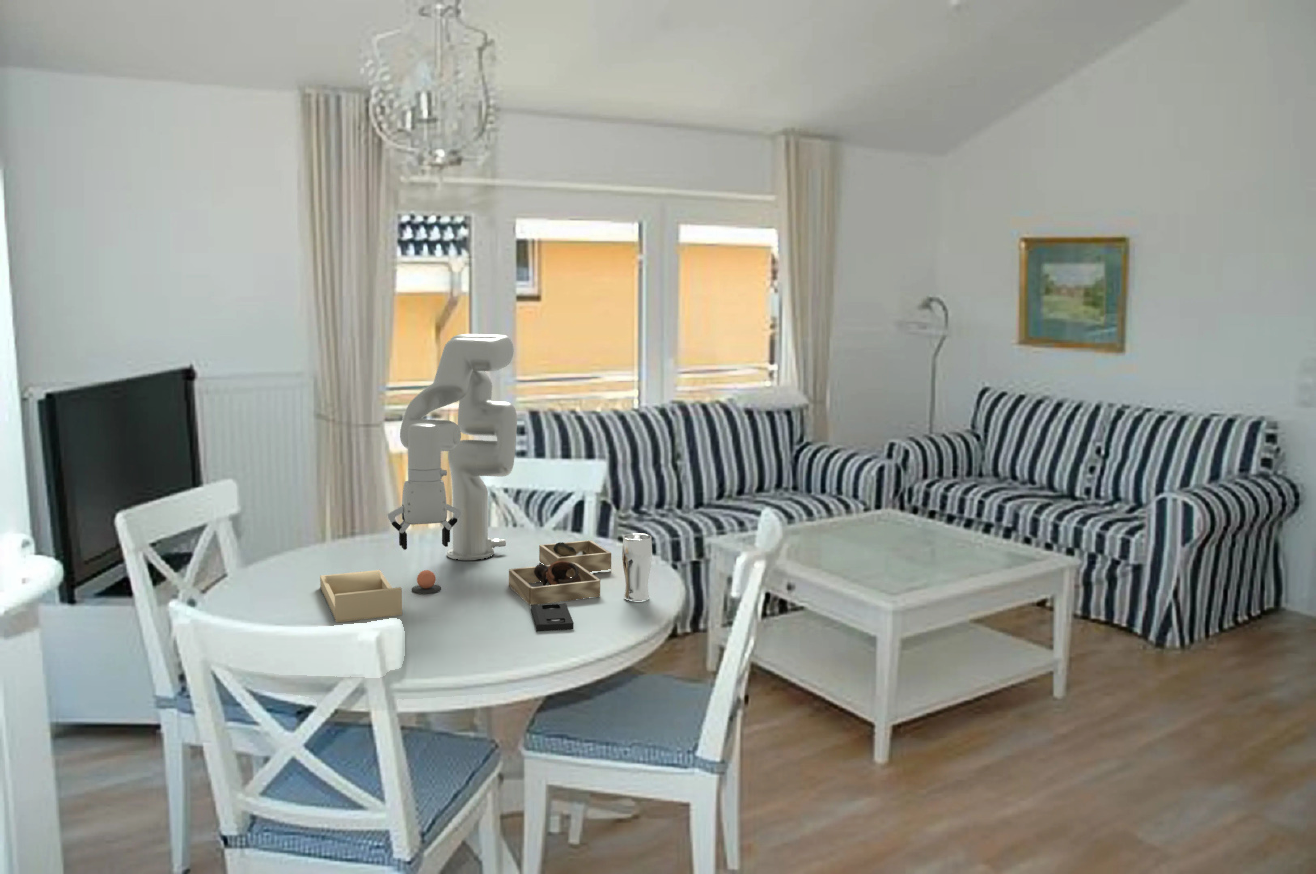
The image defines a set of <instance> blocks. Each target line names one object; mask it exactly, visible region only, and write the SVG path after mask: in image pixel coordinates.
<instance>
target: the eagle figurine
mask: <svg viewBox="0 0 1316 874" xmlns="http://www.w3.org/2000/svg"><path fill="white" fill-rule="evenodd" d="M565 543H566V542H563V541H562V542H561V541H560V542H556V544H555V543H554V544H555V546H554V548H553V549H554V551H555V553H557V554H559V555H561V556H564V557H566V556H577V555H586V554H587V549H586V551H583V554H582V552H581V551H580V552H579V553H577V554H576V550H575V549H574V548H573V547H569V546H568V545H566V544H565Z"/></svg>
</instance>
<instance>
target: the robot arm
mask: <svg viewBox="0 0 1316 874" xmlns="http://www.w3.org/2000/svg"><path fill="white" fill-rule="evenodd" d="M514 350H515V349H514V344H513V340H512V339H511V338H510V337H509V336H508V335H505V334H485V333H484V334H483V333H480V334H479V333H464V334H463V333H462V334H457V335H453V336H452V337H451V338H450V340H448V341H447V342H446V344H445V345H444V347H443V349H442V354H441V357H440V360H439V364H438V367H437V370H436V373H435V376H434V380H433V382H432V383H431V384H430V385H429V386H427V387H425V388H424V389H422V391H420V392H419V393H418V394H417V395H415V397H414V398H413V399H412V400H411V401H410V402H409V404H408V405H407V407H406V409H405V413H404V415H403V419H402V422H401V426H400V432H399V438H400V442H401V444H402V446H403V448H406V449H407V480H405V481H404V482H403V489H402V495H401V496H402V499H401V505H400V506H399V507H397V508H395V509H394V510H392V511H390V512H388V513H387V514H386V517H387V520H388V521H389V522H390V524H391V526H392V527H393V528H395V529H396V530H397V531H398V543H399V546H400V547H401V549H402V550H403V551H406V550H408V533H407V532H406V530H407V529H408V528H409V527H410V526H412V525H413V526H414V525H428V524H441V525H442V529H441V544H442V546H444V547H449V543H450V542H451V530H452V548H449V549H448V550H447V551H446V556H447V557H448V558H449V559H453V560H456V559H458V560H457V561H474V560H473V559H481V560H485V559H484V558H486V559H488V558H487V557H489V558H491V557H492V556H491V555H493V554H494V555H495V550H494V549H495V548H496V547H497V548H500V547H501V548H502V547H506V543H507V542H506V539H505V538H504V539H499V538H494V539H493V538H491V537H489V491H488V488H487V486H486V484H485V482H484V481H483V479H482V478H481V477H507V476H509V475H510V474H512V472H513V468H514V464H515V456H516V455H515V454H516V440H517V432H518V415H517V411H516V408H515V406H514V404H512V403H510V402H508V401H501V400H500V401H498V400H492V394H493V392H492V391H493V382H492V380H491V378H490V376H489V375H488V373H487V372H495V371H499V370H502V369H504V368H506V367H507V366H509V365H510V364H511V362H512V360H513V356H514ZM456 402H459V403H458V411H457V423H456V422H454V421H451V420H446V419H444V420H443V419H424V418H425V417H426V416H427V415H428V414H430V413H431V412H433V411H435V410H437V409H440V408H443V407H445V406H449V405H451V404H453V403H454V404H455V403H456ZM462 434H463V435H469V436H478V437H480V436H481V437H495V438H496V440H482V439H481V440H480V439H462V440H461V438H462ZM441 452H448V453H447V455H448V456H447V460H448V465H449V466H448V467H449V471H450V477H451V497H452V499H451V500H452V501H451V502H452V504H451V505H450V504H448V503H447V496H446V495H447V494H446V493H447V492H446V487H445V483H444V482H445V481H444V480H443V479H442V478H443V477H444V476H447V475H448V471H447V469H442V467H441V466H442V462H441V461H442V460H441V459H442V458H441V457H442V456H441V455H442V453H441ZM448 511H449V512H451V514H452V515H451V518H450V519H448V521H447V518H448ZM399 515H401V520H402V521H401V523H400V524H399V522H397V520H396V517H397V516H399ZM494 555H493V556H494ZM490 556H491V557H490Z"/></svg>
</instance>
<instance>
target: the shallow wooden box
mask: <svg viewBox="0 0 1316 874" xmlns="http://www.w3.org/2000/svg"><path fill="white" fill-rule="evenodd" d="M573 564H574V565H576V566H577V568H578V572H579V576H580V578H581V582H575V583H566V584H557V585H549V584H547V585H545V586H543V585H539V586H532V585H531V584H529V583H532V584H536V583H535V582H540V580H538V578H537V577H536V576H535V574H534V570H535V567H536V566H537V565H536V566H527V567H517V568H516V567H515V568H510V569H508V587H509V586H510V588H511V589H512V590H513V591H514V592H515V594H517V595H518V596H519V597H520V598H521V599H522V600H523V601H524V602H526V603H527V604H528V605H530V606H531V605H536V604H537V605H540V604H555V603H561V602H560V601H564V602H570V601H571V600H572V601H577V600H576V599H581V600H584V599H583V598H589V597H598V598H600V597H601V579H600V578H598V577H597V576H596V575H594V574H591V573H590V572H589V571H587V570H586V569H584V568H583V567H581V566H580V565H579V564H577V563H573ZM546 566H548V567H549V566H550V565H546ZM566 575H567V576H569V577H574V575H575V571H574V569H572V568H571V569H570V570H568V571H567V573H566ZM599 596H600V597H599ZM589 599H590V598H589ZM572 601H571V602H572ZM554 602H555V603H554Z"/></svg>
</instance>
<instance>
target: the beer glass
mask: <svg viewBox="0 0 1316 874" xmlns="http://www.w3.org/2000/svg"><path fill="white" fill-rule="evenodd" d="M622 539H623V541H622V551H621V552H622V554H621V555H622V556H621V557H622V558H621V559H622V567H623V574H624V579H625V588H624V593H623V599H624V598H626V599H628V600H632V601H642V600H647V599H648V598H649V599H650V594H649V586H648V585H649V578H650V577H649V576H650V571H651V567H652V562H653V560H652V559H653V544H652V543H653V541H652V535H650V534H648V533H647V534H646V533H638V532H637V533H628V534H625V535H623V537H622Z"/></svg>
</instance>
